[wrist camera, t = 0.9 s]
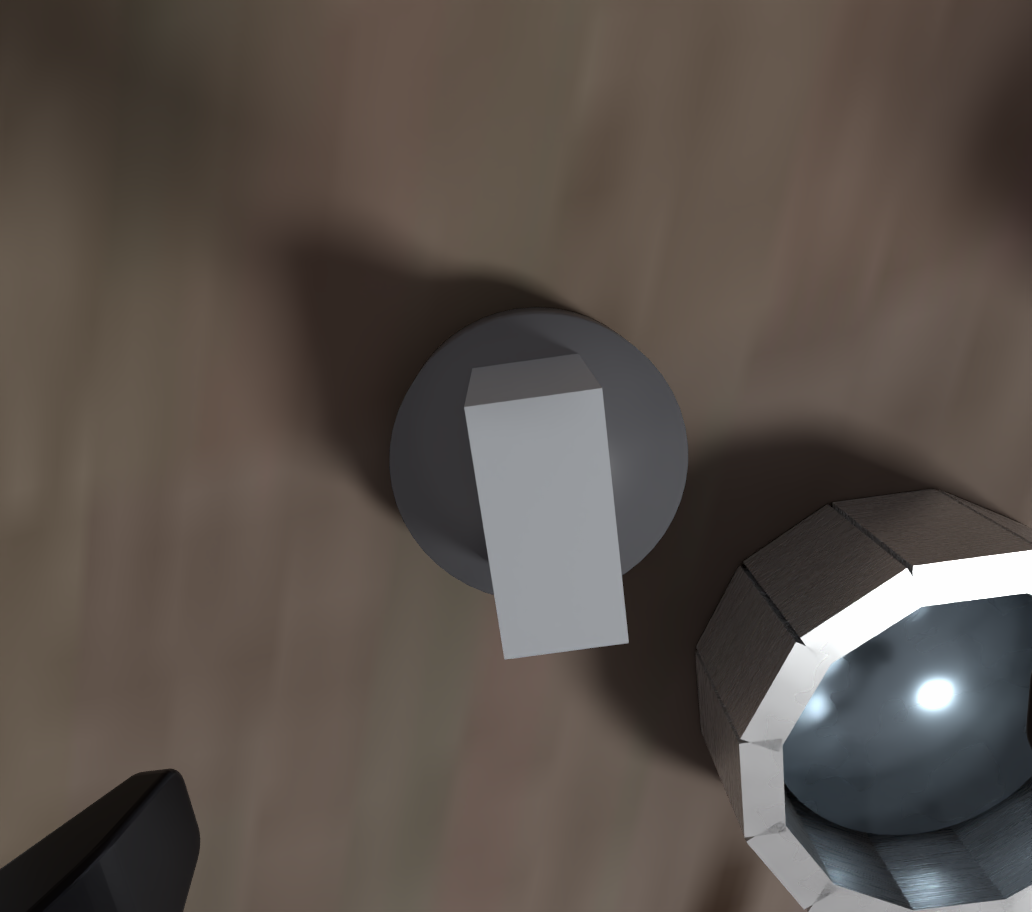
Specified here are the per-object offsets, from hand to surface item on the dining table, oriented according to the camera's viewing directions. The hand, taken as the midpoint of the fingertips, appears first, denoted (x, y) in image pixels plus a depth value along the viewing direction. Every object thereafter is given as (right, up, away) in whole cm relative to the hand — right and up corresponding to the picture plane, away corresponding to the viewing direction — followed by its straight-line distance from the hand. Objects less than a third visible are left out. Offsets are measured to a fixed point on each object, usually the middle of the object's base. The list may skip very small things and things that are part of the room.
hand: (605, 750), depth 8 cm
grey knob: (0, +3, +11) cm, 12 cm away
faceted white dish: (+10, -3, +13) cm, 17 cm away
